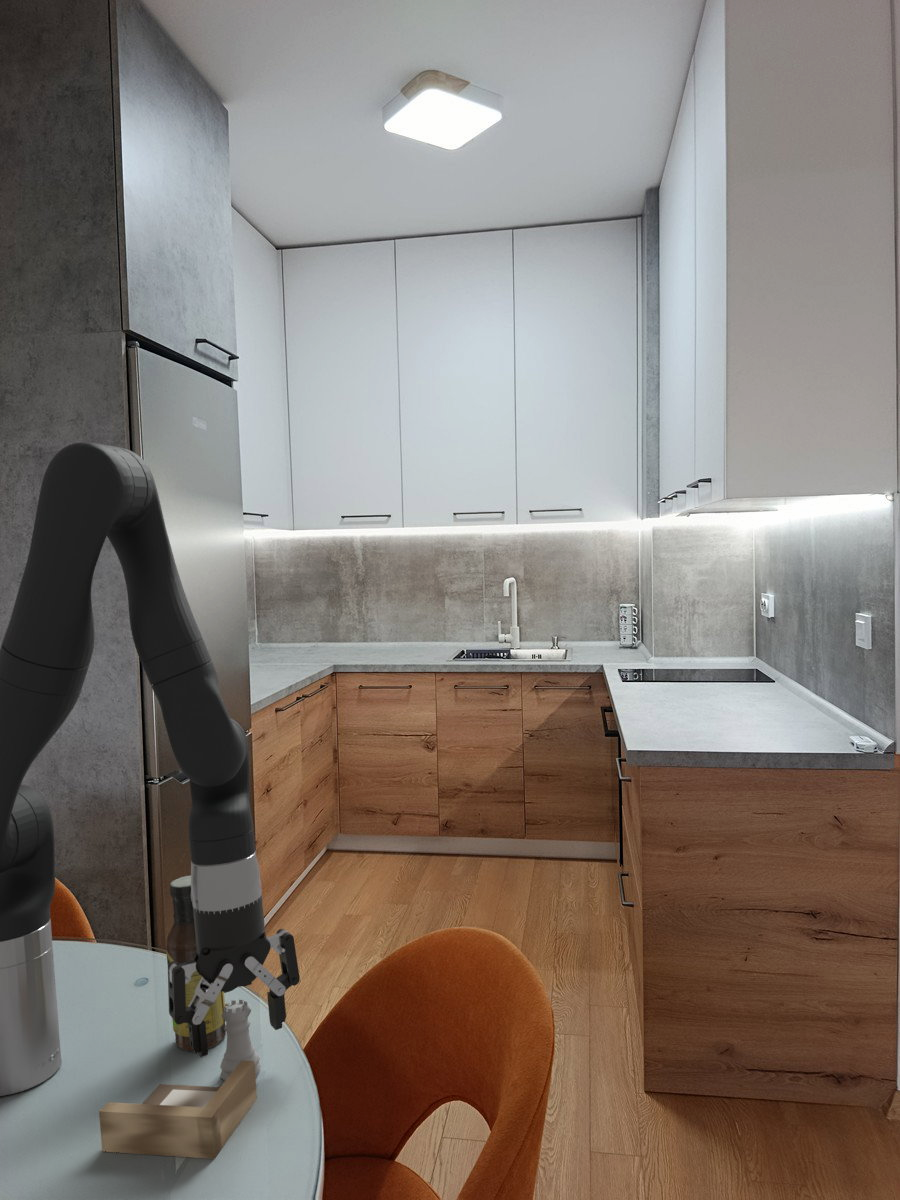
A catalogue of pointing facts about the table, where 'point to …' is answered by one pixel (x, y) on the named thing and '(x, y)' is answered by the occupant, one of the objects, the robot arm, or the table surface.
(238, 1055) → the rook chess piece
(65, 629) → the robot arm
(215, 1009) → the sauce bottle
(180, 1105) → the wooden tray
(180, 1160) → the table surface
